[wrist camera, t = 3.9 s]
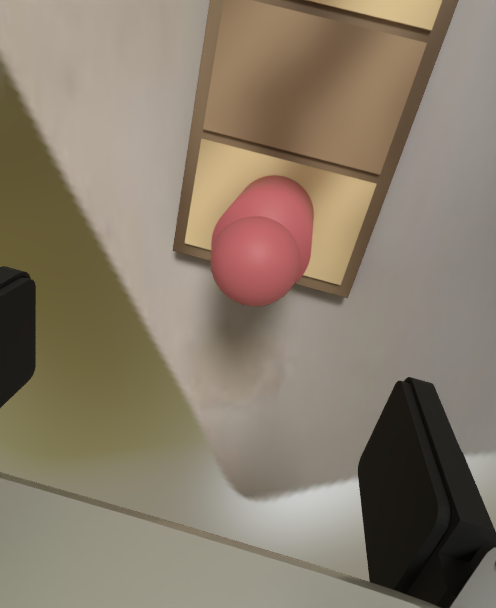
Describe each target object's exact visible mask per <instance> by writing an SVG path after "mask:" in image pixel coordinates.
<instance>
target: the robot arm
mask: <svg viewBox="0 0 496 608" xmlns="http://www.w3.org/2000/svg"><path fill="white" fill-rule="evenodd" d="M35 289H36V288H35V282H34V281H33V280H31V279H30V276H29V274H28V273H27V272H23V271H20V270H16V269H13V268H9V267H4V266H3V267H0V408H1V407H2V406H3V405H4V404H5V403H6V402H7V401H8V400H9V399H10V398H11V397H12V396H13V395H14V394H15V393H16V392H17V391H18V390H19V389H21V387H23V386H24V385H25V384H26V383H27V382H28V381H29V380H30V379H31V377H32V376H33V373H34V371H35V304H36V302H35V301H36V299H35V296H36V293H35V291H36V290H35ZM358 478H359V487H360V496H361V506H362V515H363V523H364V533H365V542H366V552H367V560H368V570H369V579H370V582H368V581H365V580H361V579H358V578H355V577H352V576H349V575H345V574H343V573H339V572H336V571H333V570H330V569H327V568H324V567H320V566H317V565H314V564H311V563H308V562H304V561H301V560H298V559H294V558H291V557H288V556H284V555H281V554H278V553H274V552H271V551H268V550H264V549H261V548H258V547H254V546H251V545H247V544H244V543H241V542H237V541H234V540H231V539H227V538H224V537H221V536H217V535H214V534H210V533H207V532H204V531H200V530H197V529H194V528H190V527H187V526H184V525H181V524H177V523H173V522H170V521H167V520H164V519H160V518H156V517H153V516H150V515H146V514H143V513H140V512H136V511H133V510H129V509H126V508H122V507H119V506H115V505H112V504H109V503H106V502H102V501H99V500H95V499H92V498H88V497H85V496H81V495H78V494H74V493H71V492H67V491H64V490H61V489H57V488H54V487H51V486H47V485H44V484H40V483H37V482H33V481H30V480H26V479H23V478H19V477H15V476H12V475H9V474H5V473H2V472H0V608H496V532H495V529H494V527H493V525H492V522H491V520H490V517H489V515H488V513H487V510H486V508H485V505H484V503H483V501H482V498H481V496H480V493H479V491H478V488H477V486H476V484H475V481H474V479H473V477H472V474H471V472H470V469H469V467H468V464H467V462H466V460H465V457H464V455H463V453H462V451H461V449H460V447H459V445H458V442H457V440H456V438H455V435H454V433H453V430H452V428H451V425H450V423H449V421H448V418H447V416H446V413H445V411H444V409H443V406H442V404H441V401H440V399H439V396H438V394H437V392H436V389H435V387H434V385H433V384H432V383H429V382H425V381H422V380H418V379H414V378H411V377H408V378H406V379H405V381H404V382H403V381H398V382H397V383H396V384H395V386H394V388H393V390H392V392H391V395H390V397H389V399H388V401H387V403H386V405H385V407H384V409H383V411H382V414H381V416H380V418H379V420H378V422H377V424H376V426H375V428H374V430H373V433H372V435H371V437H370V439H369V441H368V443H367V445H366V447H365V450H364V452H363V454H362V456H361V458H360V461H359V466H358Z"/></svg>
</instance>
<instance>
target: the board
mask: <svg viewBox="0 0 496 608" xmlns="http://www.w3.org/2000/svg"><path fill="white" fill-rule="evenodd" d="M457 3H458V0H210V4H209V10H208V17H207V24H206V30H205V37H204V44H203V51H202V57H201V64H200V71H199V77H198V84H197V91H196V98H195V104H194V111H193V118H192V124H191V131H190V138H189V144H188V151H187V158H186V165H185V171H184V178H183V185H182V191H181V198H180V205H179V212H178V218H177V225H176V232H175V238H174V245H173V251H176V252H180V253H184V254H187V255H191V256H195V257H198V258H202V259H206V260H209V261H211V252H212V249H211V241H212V235H213V231H214V228H215V226H216V224H217V222H218V220H219V219H220V217H221V216H222V215H223V214H224V212H225V211H226V210H227V209H228V208H229V207H230V205H231V204H232V203H233V202H234V201H235V200H236V199H237V197H238V196H239V195H240V194H241V193H242V192H243V190H244V189H245V188H246V187H247V186H248V185H249V184H250V183H252V182H253V181H255V180H257V179H259V178H261V177H265V176H270V175H279V176H285V177H288V178H290V179H292V180H294V181H296V182H297V183H299V184H300V185H301V186H302V187H303V188H304V189H305V190H306V192H307V193H308V195H309V197H310V199H311V201H312V204H313V209H314V221H313V234H312V247H311V257H310V261H309V264H308V267H307V269H306V271H305V273H304V274H303V275H302V277H301V278H300V279H299V280H298V281H297V282H296V283H295V284H298V285H302V286H305V287H309V288H313V289H316V290H320V291H324V292H327V293H331V294H335V295H339V296H342V297H346V298H348V296H349V294H350V291H351V288H352V285H353V283H354V280H355V277H356V275H357V272H358V269H359V267H360V264H361V261H362V259H363V256H364V253H365V251H366V248H367V245H368V242H369V240H370V237H371V234H372V232H373V229H374V226H375V224H376V221H377V218H378V216H379V213H380V210H381V207H382V205H383V202H384V199H385V197H386V194H387V191H388V189H389V186H390V183H391V181H392V178H393V175H394V173H395V170H396V167H397V164H398V162H399V159H400V156H401V154H402V151H403V148H404V146H405V143H406V140H407V138H408V135H409V132H410V129H411V127H412V124H413V121H414V119H415V116H416V113H417V111H418V108H419V105H420V103H421V100H422V97H423V95H424V92H425V89H426V86H427V84H428V81H429V78H430V76H431V73H432V70H433V68H434V65H435V62H436V60H437V57H438V54H439V52H440V49H441V46H442V43H443V41H444V38H445V35H446V33H447V30H448V27H449V25H450V22H451V19H452V17H453V14H454V11H455V8H456V6H457Z"/></svg>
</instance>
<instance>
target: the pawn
mask: <svg viewBox="0 0 496 608" xmlns="http://www.w3.org/2000/svg"><path fill="white" fill-rule="evenodd" d="M313 221H314V209H313V204H312V201H311V199H310V197H309V195H308V193H307V192H306V190H305V189H304V188H303V187H302V186H301V185H300V184H299V183H297V182H296V181H294V180H292V179H290V178H288V177H285V176H279V175H270V176H265V177H261V178H259V179H257V180H255V181H253V182H252V183H250V184H249V185H248V186H247V187H246V188H245V189H244V190H243V192H242V193H241V194H240V195H239V196H238V197H237V199H236V200H235V201H234V202H233V203H232V204H231V205H230V207H229V208H228V209H227V210H226V211H225V212H224V214H223V215H222V216H221V217H220V219H219V220H218V222H217V224H216V226H215V228H214V231H213V235H212V241H211V249H212V252H211V270H212V274H213V277H214V280H215V282H216V284H217V285H218V287H219V288H220V289H221V291H222V292H223V293H224V294H225V295H227V296H228V297H229V298H230V299H232V300H234V301H236V302H238V303H240V304H243V305H248V306H263V305H267V304H270V303H273V302H275V301H277V300H278V299H280V298H282V297H283V296H284V295H285V294H286V293H287V292H288V291H289V290H290V289H291V287H292V286H293V285H294V284H295V283H296V282H297V281H298V280H299V279H300V278H301V277H302V275H303V274H304V273H305V271H306V269H307V267H308V264H309V261H310V257H311V247H312V234H313Z"/></svg>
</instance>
